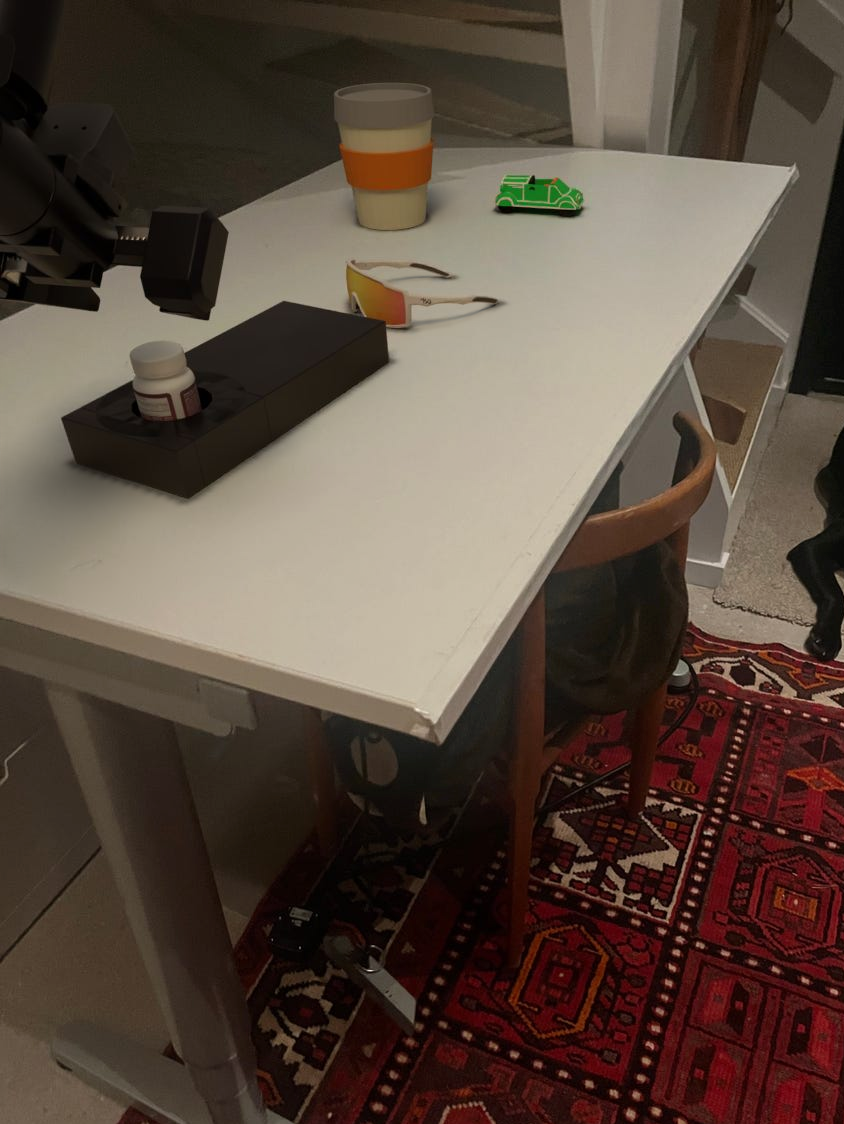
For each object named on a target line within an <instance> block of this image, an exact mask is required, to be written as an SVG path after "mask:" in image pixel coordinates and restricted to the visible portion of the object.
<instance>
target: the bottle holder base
mask: <svg viewBox="0 0 844 1124" xmlns="http://www.w3.org/2000/svg"><path fill="white" fill-rule="evenodd" d="M184 354H185V358H186V364H187V365H186V367H188V368H189V369H190V370H191V371H192V372H193V374H194V377H195V381H196V385H197V390H198V394H199V398H200V403H201V407H202V411H200V412H199V413H197V414H194V415H191V416H188V417H185V418H181V419H174V420H167V421H158V420H147V419H143V418H142V417H141V413H140V410H139V407H138V403H137V400H136V396H135V392H134V389H133V379H131V380H130V381H128V382H126V383H124V384H122V385H120V386H119V387H117V388H114V389H113V390H110V391H109V392H107V393H105V394H103V395H102V396H99V397H98V398H95V399H94V400H92V401H90V402H88V403H86V404H84V405H82V406H80V407H79V408H76V409H74V410H73V411H71V412H69V413H66V414H65V415H63V416H61V417H60V420H61V422H62V425H63V429H64V432H65V435H66V438H67V441H68V444H69V447H70V450H71V452H72V456H73V458H74V461H75V463H76V464H79V465H82V466H85V467H88V468H91V469H94V470H98V471H101V472H104V473H107V474H109V475H113V476H117V477H119V478H123V479H125V480H129V481H132V482H135V483H139V484H142V485H144V486H148V487H151V488H154V489H157V490H160V491H163V492H168V493H170V494H173V495H175V496H176V495H177V496H179V497H183V498H185V499H189V498H191V497H193V496H194V495H195V494H197V493H198V492H200V491H201V490H203V489H204V488H205V487H207V486H209V485H210V484H212V483H213V482H214V481H216V480H217V479H219V478H220V477H222V476H224V474H226V473H228V472H229V471H231V470H232V469H233V468H235V467H236V466H238V465H240V464H241V463H243V462H244V461H246V460H247V459H249V458H250V457H252V456H253V455H254V454H256V453H257V452H259V451H260V450H261V449H263V448H264V447H266V446H268V445H270V444H271V442H273V441H274V440H276V439H277V438H279V437H280V436H282V435H284V434H285V433H287V432H288V431H289V430H291V429H292V428H294V427H295V426H297V425H298V424H300V423H302V422H303V421H304V420H306V419H307V418H308V417H310V416H311V415H313V414H314V413H316V412H317V411H319V410H320V409H322V408H323V407H325V406H327V405H328V404H329V403H331V402H332V401H333V400H335V399H337V398H338V397H339V396H341V395H343V394H344V393H345V392H347V391H348V390H350V389H352V388H353V387H354V386H355V385H357V384H358V383H360V382H361V381H363V380H364V379H365V378H368V377H369V376H371V375H372V374H373V373H375V372H377V370H379V369H381V368H382V367H383V366H385V365H386V364H388V363H389V362H390V358H389V357H390V355H389V343H388V331H387V327H386V321H383V320H378V319H373V318H368V317H364V315H358V314H352V313H347V312H342V311H339V310H337V311H336V310H333V309H327V308H322V307H319V306H312V305H307V304H303V303H297V302H293V301H287V300H282V301H280V302H278V303H276V304H274V305H273V306H271V307H269V308H267V309H264V310H263V311H260V312H259V313H257V314H256V315H254V316H252V317H250V318H248V319H246V320H244V321H241V322H240V323H238V324H236V325H235V326H233V327H231V328H229V329H227V330H225V331H223V332H221V333H219V334H217V335H216V336H213V337H212V338H210V339H207V340H206V341H204V342H202V343H201V344H198V345H196V346H195V347H193V348H191V349H188V350H187V351H184Z"/></svg>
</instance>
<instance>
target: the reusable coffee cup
mask: <svg viewBox="0 0 844 1124" xmlns="http://www.w3.org/2000/svg"><path fill="white" fill-rule="evenodd" d="M333 110H334V111H333V114H334V115H333V116H334V117H333V118H334V119H333V120H334V121H335V122H336V123H337V126H338V131H339V136H340V140H341V142H340V143H339V144H338V147H339V151H340V157H341V160H342V164H343V168H344V175H345V178H346V182H347V184H348V185H350V187H351V191H352V197H353V200H354V204H355V205H354V206H355V209H356V214H357V219H358V222H359V224H360V225H361V226H362V227H364V228H367V229H371V230H379V231H397V230H405V229H411V228H414V227H418V226H419V225H422V224H423V223H425V222H426V217H427V199H428V186H429V185H428V184H429V182H430V181H431V179H432V172H433V171H432V170H433V158H434V157H433V156H434V139H433V138H432V137H431V136H432V120H433V118H435V109H434V101H433V94H432V89H431V88H430V87H428V86H426V85H422V84H417V83H407V82H377V83H376V82H373V83H364V84H363V83H361V84H355V85H351V86H346V87H342V88H340V89H337V90H335V92H334V93H333Z"/></svg>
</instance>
